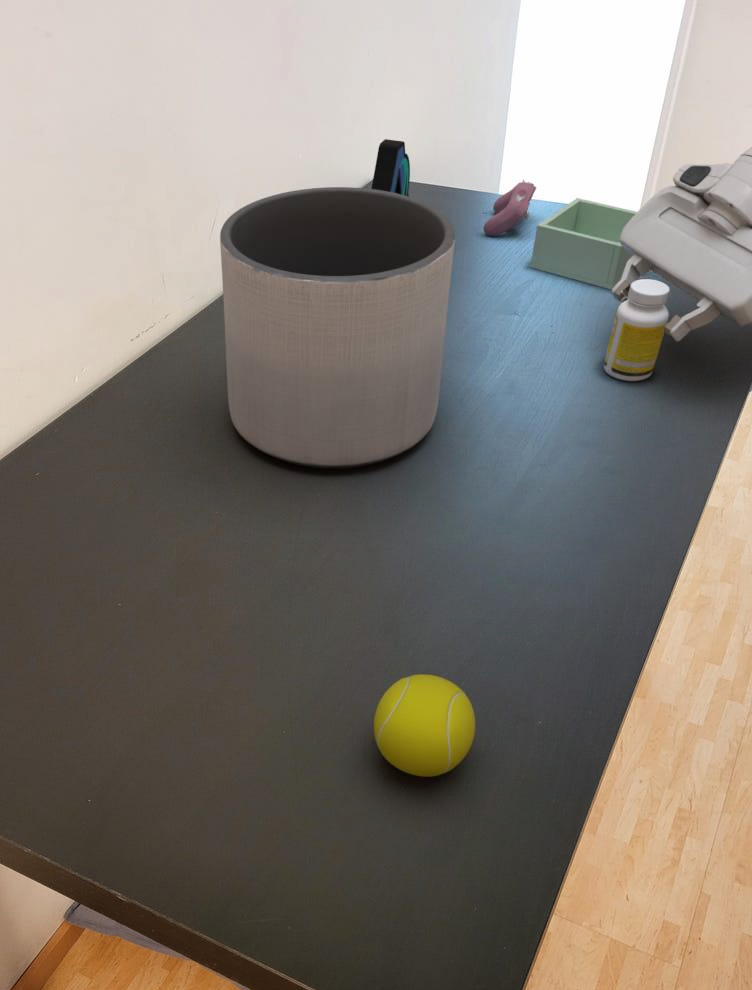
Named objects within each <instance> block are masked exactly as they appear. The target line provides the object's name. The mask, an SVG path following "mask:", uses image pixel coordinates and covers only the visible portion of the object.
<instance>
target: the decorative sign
mask: <svg viewBox="0 0 752 990" xmlns="http://www.w3.org/2000/svg"><path fill="white" fill-rule="evenodd" d="M376 155H377V157H376V161H375V167H374V171H373V177H372V178H373V179H372V183H371V188H370V189H375V190H382V191H387V192H392V193H397V194H401V195H405V196H408V197H410V193H409V189H410V180H411V179H410V178H411V166H410V165H411V163H410V159H409V158H410V157H409V155H408V153H406V143H405V141H403V140H394V139H387V138H385V139H383V140H382V141H381V142H380V143H379V145H378V150H377V154H376Z"/></svg>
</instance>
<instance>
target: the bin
mask: <svg viewBox="0 0 752 990" xmlns="http://www.w3.org/2000/svg"><path fill="white" fill-rule="evenodd" d="M637 212H638V211H636V210H630V209H626V208H623V207H619V206H613V205H609V204H606V203H600V202H596V201H592V200H588V199H583V198H579V197H576V198H575V199H573V200H572V201H571V202H569V203H568V204H566V205H565V206H563V207H562V208H560V209H559V210H558V211H555V212H554V213H553V214H551V215H550V216H548V217H547V218H546V219H544V220H542V221H541V222H540V223H538V224H537V225H536V231H535V237H534V242H533V247H532V249H533V250H532V253H531V259H530V266H529V267H530V268H531V269H535V270H538V271H542V272H544V273H545V272H546V273H550V274H552V275H557V276H561V277H564V278H567V279H571V280H574V281H579V282H582V283H585V284H586V283H587V284H589V285H593V286H596V287H600V288H604V289H607V290H612V289H613V287H614V286H615V285H616V284H617V283H618V282H619V281H620V280H621V279H622V278H621V277H622V275H623V272H624V269H625V266H626V263H627V261H628V260H629V259H630V258H631V257H630V256H629V255H628V253H627V252H626V251H625V249H624V248H623V246H622V245H621V243H620V236H621V232H622V230H623V228H624V227H625V225H626V224H627V223H628V222H629V221H630V220H631V218H632V217H633V216H634V215H635V214H636V213H637Z"/></svg>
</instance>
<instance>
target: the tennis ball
mask: <svg viewBox="0 0 752 990" xmlns="http://www.w3.org/2000/svg"><path fill="white" fill-rule="evenodd" d="M474 712H475V711H474V709H473V705H472V703H471V701H470V699H469V697H468V696H467V695H466V693H465V692H464V691H463V690H462V688H460V687H459V686H458V685H456V684H455V683H454V682H452V681H450V680H448V679H446V678H444V677H441V676H438V675H434V674H433V675H432V674H423V673H421V674H420V673H419V674H413V675H409V676H406V677H403V678H401V679H399V680H397V681H395V683H393V684H392V685H391V686H390V687H389V688H388V689H386V691H385V692H384V694H383V695H382V697H381V699H380V700H379V702H378V705H377V707H376V710H375V713H374V719H373V731H374V738H375V742H376V745H377V746H376V747H377V748H378V750H379V751H380V753H381V755H382V756H383V757H384V758H385V760H386V761H387V762H388V763H389V764H391V765H392V766H393V767H395V768H397V769H398V770H400V771H402V772H404V773H406V774H409V775H413V776H418V777H427V778H428V777H429V778H430V777H436V776H437V777H438V776H440V775H442V774H446V773H448V772H450V771H451V770H453V769H454V768H455V767H456V766H458V765H459V764H460V763H461V762H462V761H463V760H464V758H466V756H467V754H468V752H469V751H470V749H471V747H472V744H473V741H474V739H475V733H476V717H475V713H474Z"/></svg>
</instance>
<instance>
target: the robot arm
mask: <svg viewBox="0 0 752 990" xmlns="http://www.w3.org/2000/svg"><path fill="white" fill-rule="evenodd" d="M672 181H673V184H674V185H670V186H666V187H664V188H662V189H661V190H659V191H658V192H656V193H655V194H654V195H653V196H652V197H651V198H650V199H648V201H647V202H646V203H644V205H642V207H640V209H639V210H638V211H636V212H637V213H636V214H635V215H634V216H633V217H632V218H631V220H630V221H629V222H628V223H627V224H626V225H625V227H624V228H623V230H622V232H621V236H620V243H621V245H622V246H623V248H624V249H625V251H626V252H627V253H628V255H629V256H630V257H631V258H630V259H629V260H628V261H627V263H626V266H625V269H624V272H623V275H622V277H621V278H622V279H621V280H620V281H619V282H618V283H617V284H616V285H615V286H614V287H613V288H612V289H610V294H611V295H612V296H613V298H614V299H615V300H617V301H618V302H619V303H620V304H621V303H623V302H624V301H626V300H628V293H629V289H630V286H631V284H632V283H633V282H634V281H636V280H638V278H639V276H640V277H644V276H645V275H646V274H647V273H648V272H649V271H650V270H651V271H652V272H653V273H655V274H657V275H658V276H660V277H661V278H662V279H665V280H666V281H668V282H669V283H671V284H672V285H674V286H676V288H678V289H681V290H682V291H684V292H685V293H687V294H688V295H690V296H692V297H693V298H695V299H696V300H698V302H697V303H696V307H697V309H695V310H693V311H691V312H689V313H687V314H684V315H683V316H680V315H678V314H675V315H674V316H673V317H672V318H671V319H670V321H669V322H667V324H666V325H665V327H664V330H665V331H664V333H666V334H667V336H668V337H670V338H671V339H673V340H674V341H676V342H680V341H681V340H682V339H684V338H685V337H686V336H687V335H688V334H689V333H690V332H691V330H692V331H694V330H695V329H698V328H700V327H703V326H705V325H708V324H710V323H713V321H715V320H716V319H717V318H718V316H719V315H721V316H723V317H725V318H727V319H728V320H730V321H731V322H733V323H734V324H736V325H737V326H740V327H743V326H746V325H749V324H752V146H751V147H750V148H748V149H747V150H745V151H743V152H742V153H741V154H740V155H739V156H738V157H737V158H736V159H735V160H734V161H733V163H718V164H717V163H716V164H701V163H700V164H698V163H697V164H696V163H687V164H684V165H682V166H681V167H680V168H679V169H678V170H677V171H676V172H675V173H674V175H673V176H672Z"/></svg>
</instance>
